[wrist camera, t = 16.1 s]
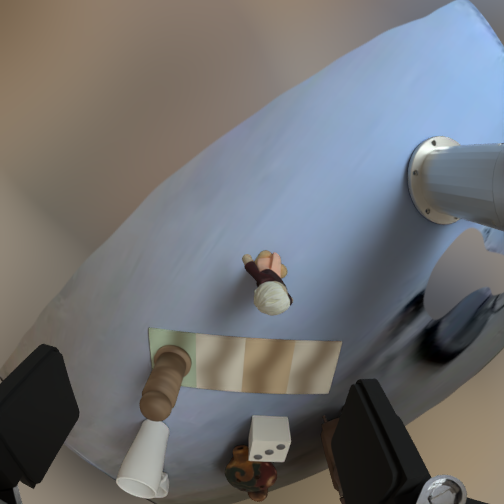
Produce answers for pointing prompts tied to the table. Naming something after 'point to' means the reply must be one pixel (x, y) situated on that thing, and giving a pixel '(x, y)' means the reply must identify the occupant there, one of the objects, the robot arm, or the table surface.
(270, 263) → the grandmother figurine
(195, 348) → the track board
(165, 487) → the teacup
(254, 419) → the die
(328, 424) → the alarm clock
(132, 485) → the drinking glass
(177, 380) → the pawn
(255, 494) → the decorative turtle
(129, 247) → the table surface
